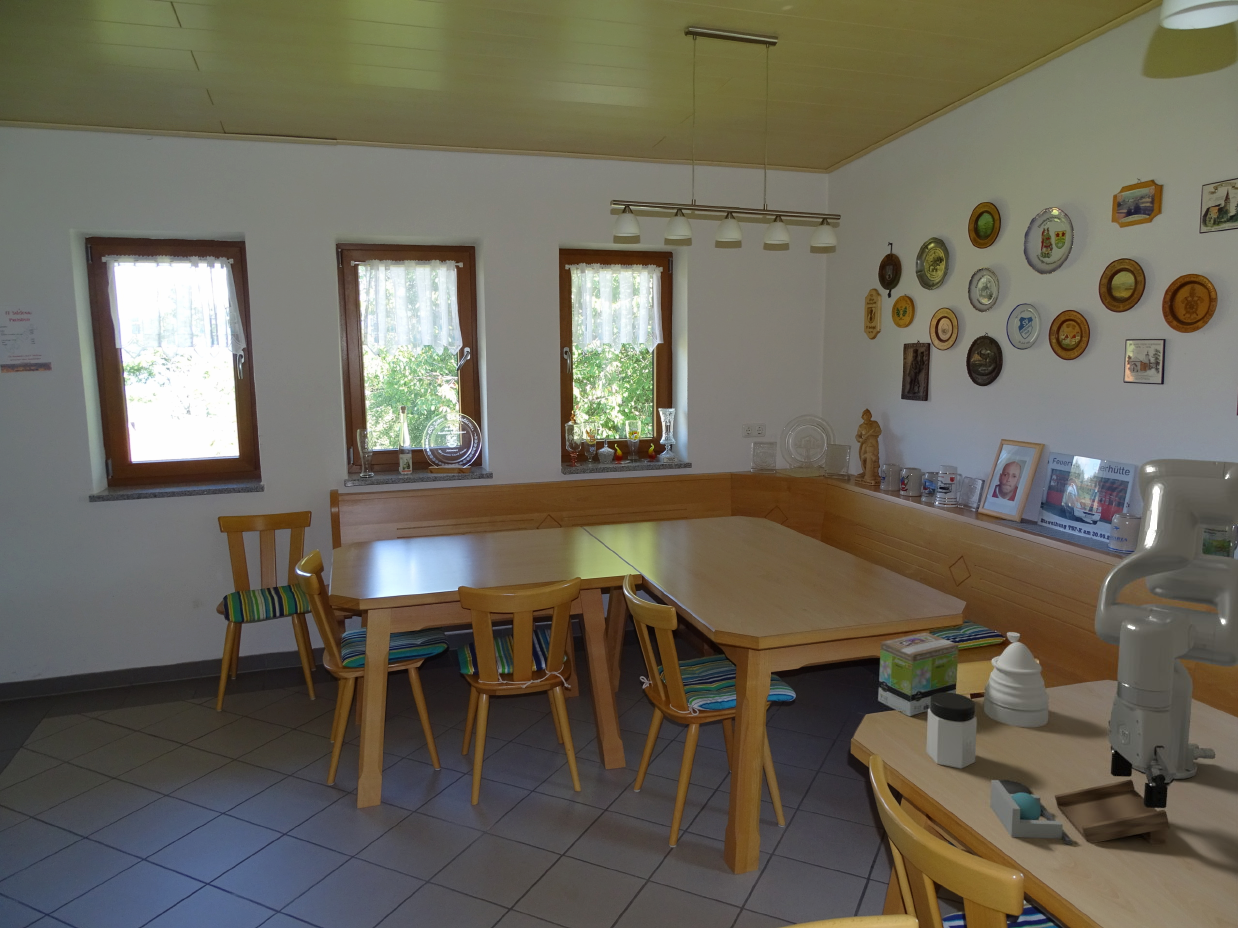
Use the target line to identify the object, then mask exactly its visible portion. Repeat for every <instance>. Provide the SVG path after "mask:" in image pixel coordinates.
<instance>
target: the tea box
mask: <svg viewBox="0 0 1238 928" xmlns="http://www.w3.org/2000/svg"><path fill="white" fill-rule="evenodd" d="M958 660H959V644H958V643H956V642H952V641H950V640H948V639H944V638H942V637H940V636H937V635H934V634H931V633H928V632H922V633H917V634H913V635H907V636H902V637H899V638H893V639H889V640H885V641H881V643H880V658H879V673H878V674H879V675H878V676H879V679H878V680H879V681H878V695H877V697H878V699H877V701H878V702H880V703H882V704H883V705H886V706H888V707H889V708H892V709H893V710H896V711H897V712H900V711H904V712H903V713H902V714H904V715H906V716H908V717H912V716H914V715H918V714H921V713H923V712H928V709H930V699H931V696H932V695H934V694H936V693H944V692H947V693H955V694H957V682H958V681H957V680H958V676H957V675H958Z"/></svg>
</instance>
